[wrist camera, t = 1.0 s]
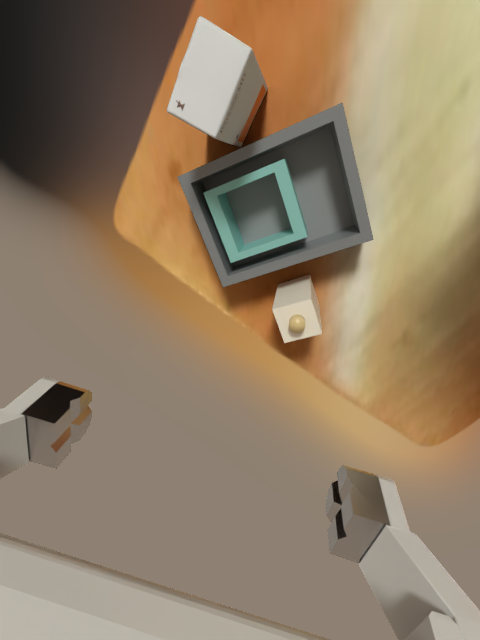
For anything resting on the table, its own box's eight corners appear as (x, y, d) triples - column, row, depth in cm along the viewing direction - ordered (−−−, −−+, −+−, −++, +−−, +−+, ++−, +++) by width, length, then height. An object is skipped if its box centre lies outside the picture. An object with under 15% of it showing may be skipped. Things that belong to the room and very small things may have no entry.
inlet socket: (286, 159, 34) (284, 158, 30) (307, 229, 36) (307, 236, 33) (213, 190, 36) (203, 192, 33) (237, 253, 39) (230, 262, 35)
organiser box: (337, 111, 32) (342, 102, 27) (364, 230, 36) (373, 239, 32) (192, 175, 37) (177, 176, 32) (231, 273, 41) (223, 287, 36)
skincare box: (242, 149, 35) (214, 142, 24) (206, 128, 34) (163, 111, 24) (270, 86, 32) (254, 47, 21) (232, 63, 32) (196, 12, 21)
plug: (309, 274, 39) (311, 302, 31) (318, 304, 40) (322, 338, 32) (277, 284, 40) (271, 313, 32) (287, 312, 42) (283, 347, 34)
